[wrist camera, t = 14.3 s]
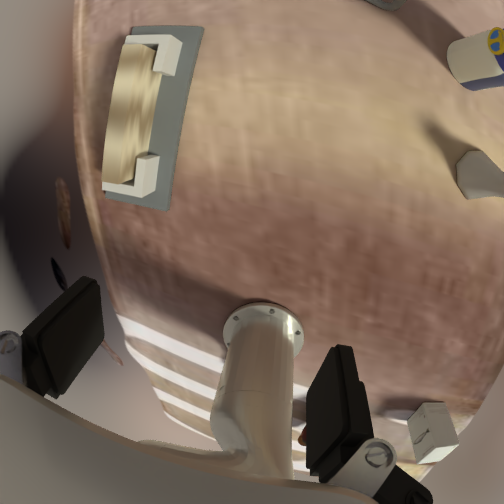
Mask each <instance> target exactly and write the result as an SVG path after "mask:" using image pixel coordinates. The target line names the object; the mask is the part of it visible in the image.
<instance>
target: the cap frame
mask: <svg viewBox="0 0 504 504" xmlns="http://www.w3.org/2000/svg"><path fill="white" fill-rule="evenodd" d="M203 32H204V28H203V27H198V26H141V27H133V30H132V33H131V35H129V36H127V37H126V40H125V44H124V45H127V44H143V45H145V46H147V47H149V48H151V49H153V50H155V51H157V54H156V58H155V62H154V66H153V71H154V72H157V73H160V74H162V77H161V82H160V87H159V91H158V96H157V101H156V107H155V112H154V117H153V123H152V129H151V135H150V142H149V149H148V156H144V157H140V158H137V164H136V173H135V178H133V179H131V180H128V181H126V182H123V183H121V184H112V183H107V182H103V183H102V190H106V195H105V198H108V199H113V200H118V201H122V202H127V203H131V204H136V205H140V206H145V207H149V208H153V209H158V210H162V211H168V210H169V208H170V200H171V193H172V185H173V178H174V171H175V165H176V158H177V152H178V146H179V141H180V135H181V129H182V124H183V119H184V114H185V108H186V104H187V99H188V94H189V89H190V85H191V80H192V76H193V72H194V67H195V63H196V59H197V55H198V51H199V47H200V43H201V40H202V36H203Z"/></svg>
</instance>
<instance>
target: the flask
mask: <svg viewBox="0 0 504 504" xmlns="http://www.w3.org/2000/svg"><path fill="white" fill-rule="evenodd" d="M456 167H457V185H458V186H459V188H460V189H461V191H462V193H463V194H464V196H465V197H466V199H476V198H484V197H491V196H496V197H503V198H504V172H503V171H501V170H500V168H499V167H498V166H497V165H496V164H495V163H494V162H493V161H492V160H491V159H490V158H489V157H488V156H487V155H486V154H485V153H484V152H483V151H467V153H466V154H465V155H464V156H463V157H462V158H461V159H460V161H459V162H458V163H457V164H456Z"/></svg>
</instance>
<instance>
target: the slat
mask: <svg viewBox="0 0 504 504" xmlns="http://www.w3.org/2000/svg"><path fill="white" fill-rule="evenodd" d="M156 54H157V51H155V50H153V49H151V48H149V47H147V46H145V45H143V44H127V45H123V47H122V51H121V55H120V59H119V63H118V68H117V72H116V77H115V82H114V87H113V92H112V98H111V103H110V109H109V116H108V122H107V130H106V137H105V146H104V155H103V166H102V179H101V181H102V182H107V183H112V184H121V183H123V182H126V181H128V180H131V179H133V178H135V173H136V164H137V158H140V157H144V156H148V149H149V142H150V135H151V129H152V123H153V117H154V112H155V107H156V101H157V96H158V91H159V87H160V82H161V77H162V74H160V73H157V72H154V71H153V66H154V62H155V58H156Z"/></svg>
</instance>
